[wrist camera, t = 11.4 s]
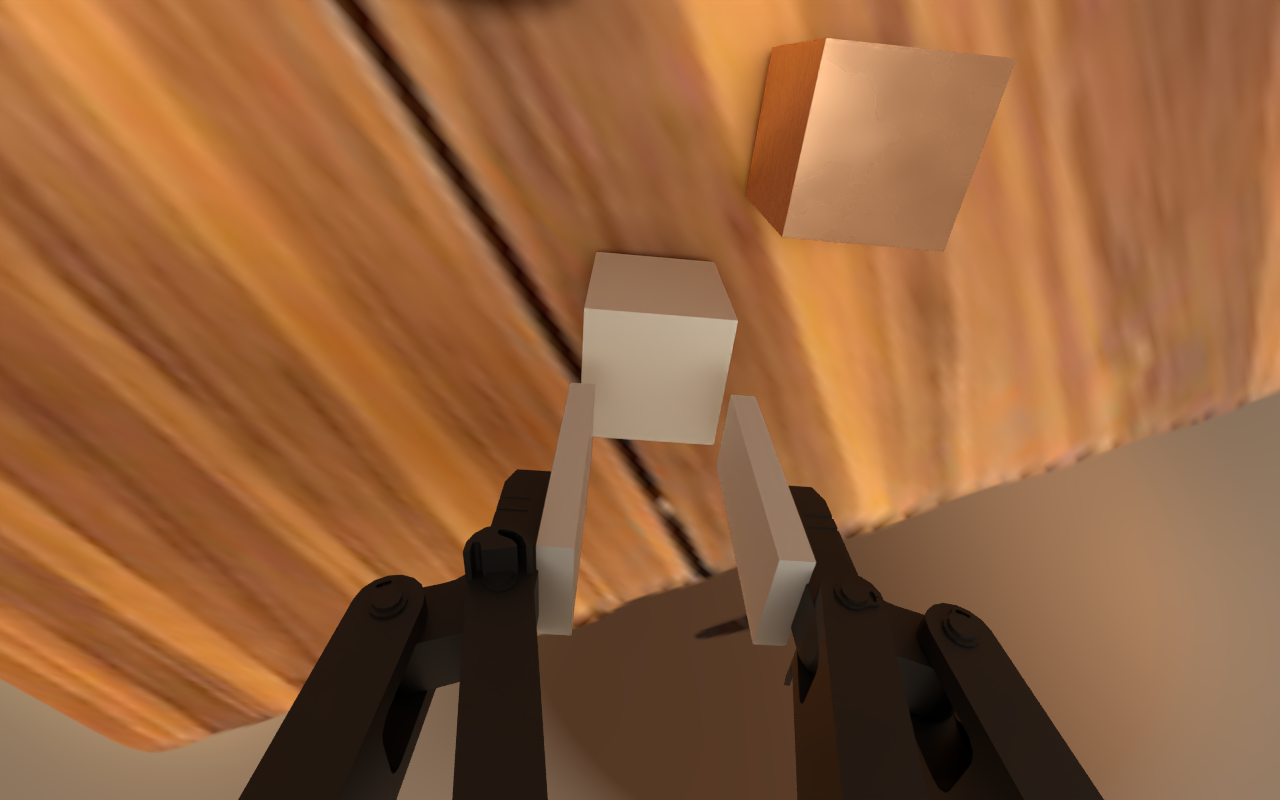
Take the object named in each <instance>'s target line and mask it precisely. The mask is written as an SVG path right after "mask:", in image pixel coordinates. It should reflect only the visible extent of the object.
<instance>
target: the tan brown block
mask: <svg viewBox="0 0 1280 800" xmlns="http://www.w3.org/2000/svg"><path fill="white" fill-rule="evenodd" d="M1015 61H1016V59H1015V58H1006V57H997V56H987V55H978V54H969V53H960V52H951V51H941V50H932V49H923V48H914V47H905V46H895V45H886V44H877V43H868V42H859V41H849V40H840V39H831V38H823V39H817V40H811V41H806V42H800V43H794V44H788V45H782V46H776V47H772V52H771V57H770V63H769V69H768V74H767V80H766V85H765V91H764V96H763V102H762V107H761V113H760V119H759V124H758V130H757V135H756V141H755V146H754V152H753V157H752V163H751V169H750V174H749V180H748V185H747V191H746V197H747V198H748V199H749V200H750V201H751V202H752V203H753V205H754V206H755V207H756V208H757V209H758V210H759V211H760V213H761V214H762V215H763V216H764V217H765V218H766V219H767V221H768V222H769V223H770V224H771V225H772V226H773V227H774V229H775V230H776V231H777V232H778V233H779V234H780V235H781V237H785V238H796V239H808V240H819V241H830V242H841V243H852V244H864V245H875V246H886V247H897V248H908V249H920V250H931V251H942V252H943V251H944V249H945V246H946V244H947V241H948V238H949V236H950V233H951V230H952V228H953V225H954V222H955V220H956V217H957V214H958V212H959V209H960V207H961V204H962V201H963V199H964V196H965V193H966V191H967V188H968V185H969V183H970V180H971V177H972V175H973V172H974V170H975V167H976V164H977V162H978V159H979V156H980V154H981V151H982V148H983V146H984V143H985V140H986V138H987V135H988V132H989V130H990V127H991V125H992V122H993V119H994V117H995V114H996V111H997V109H998V106H999V103H1000V101H1001V98H1002V95H1003V93H1004V90H1005V88H1006V85H1007V82H1008V80H1009V77H1010V74H1011V72H1012V69H1013V66H1014V64H1015Z"/></svg>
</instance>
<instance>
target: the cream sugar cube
mask: <svg viewBox="0 0 1280 800" xmlns="http://www.w3.org/2000/svg"><path fill="white" fill-rule="evenodd" d="M737 324H738V319H737V317H736V314H735V312H734V309H733V307H732V305H731V302H730V300H729V297H728V295H727V292H726V290H725V287H724V285H723V283H722V280H721V278H720V275H719V273H718V270H717V268H716V265H715V263H714V262H709V261H697V260H686V259H674V258H663V257H651V256H639V255H628V254H616V253H605V252H596V256H595V261H594V265H593V270H592V274H591V279H590V284H589V288H588V293H587V297H586V302H585V307H584V325H583V352H582V378H581V383H583V384H595V403H594V421H593V437H603V438H618V439H632V440H647V441H661V442H676V443H690V444H705V445H714V441H715V436H716V431H717V426H718V421H719V416H720V411H721V405H722V400H723V395H724V390H725V385H726V380H727V375H728V370H729V365H730V359H731V354H732V349H733V344H734V339H735V334H736V329H737Z"/></svg>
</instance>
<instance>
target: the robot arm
mask: <svg viewBox="0 0 1280 800" xmlns="http://www.w3.org/2000/svg"><path fill="white" fill-rule="evenodd" d="M594 403H595V384H583V383H570V386H569V391H568V396H567V400H566V405H565V410H564V415H563V419H562V424H561V429H560V434H559V438H558V443H557V448H556V453H555V457H554V462H553V467H552V472H550V471H535V470H519V469H517V470H516V471H515V472H514V473H513V474H512V475H511V476H510V477H509V478H508V479H507V480H506V481H505V484H504V487H503V490H502V493H501V496H500V499H499V502H498V506H497V510H496V512H495V515H494V518H493V521H492V524H491V526H490V527H485V528H484V529H482V530H480V531H478V532H476V533H474V534H473V535H472V537H471V538H470V539H469V540H468V541H467V542H466V544H465V547H464V550H463V557H464V566H465V575H464V576H462V577H460V578H458V579H456V580H453V581H450V582H446V583H442V584H438V585H433V586H428V587H422V584H421V583H419V582H418V581H417V580H416V579H414V578H412V577H408V576H405V575H392V576H386V577H383V578H380V579H377V580H375V581H373V582H371V583H370V584H368V585H367V586H365V587H364V588H362V589H361V591H360V592H359V593H358V594H357V595H356V597H355V598H354V599H353V601H352V602H351V604H350V606H349V608H348V609H347V611H346V613H345V614H344V616H343V618H342V620H341V621H340V623H339V625H338V627H337V628H336V630H335V632H334V634H333V635H332V637H331V639H330V641H329V642H328V644H327V646H326V648H325V649H324V651H323V653H322V655H321V656H320V658H319V660H318V662H317V663H316V665H315V667H314V669H313V670H312V672H311V674H310V676H309V677H308V679H307V681H306V683H305V684H304V686H303V688H302V690H301V691H300V693H299V695H298V696H297V698H296V700H295V702H294V703H293V705H292V707H291V709H290V710H289V712H288V714H287V716H286V718H285V719H284V721H283V723H282V724H281V726H280V728H279V730H278V732H277V733H276V735H275V737H274V739H273V740H272V742H271V744H270V745H269V747H268V749H267V751H266V752H265V754H264V756H263V758H262V759H261V761H260V763H259V765H258V766H257V768H256V770H255V772H254V773H253V775H252V777H251V778H250V780H249V782H248V784H247V786H246V787H245V789H244V791H243V792H242V794H241V796H240V798H239V800H396V799H397V796H398V793H399V790H400V788H401V785H402V782H403V779H404V777H405V774H406V771H407V768H408V766H409V763H410V760H411V757H412V754H413V751H414V748H415V746H416V743H417V740H418V737H419V735H420V732H421V729H422V726H423V723H424V720H425V717H426V715H427V712H428V709H429V707H430V704H431V701H432V698H433V695H434V692H435V690H436V688H438V687H441V686H446V685H449V684H453V683H457V682H460V688H459V703H458V719H457V736H456V751H455V767H454V783H453V798H452V800H548V797H547V782H546V767H545V752H544V736H543V721H542V705H541V690H540V675H539V659H538V644H537V633H539V634H559V635H560V634H561V635H571V632H572V624H573V615H574V606H575V598H576V589H577V580H578V571H579V563H580V554H581V545H582V536H583V528H584V519H585V510H586V501H587V493H588V484H589V475H590V467H591V458H592V440H593V421H594ZM717 470H718V475H719V480H720V485H721V490H722V495H723V500H724V505H725V509H726V514H727V519H728V524H729V529H730V534H731V539H732V544H733V549H734V554H735V558H736V563H737V568H738V573H739V577H740V583H741V588H742V593H743V598H744V602H745V607H746V612H747V617H748V622H749V627H750V632H751V637H752V641H753V644H759V645H779V646H780V645H781V646H786V644H787V641H788V638H789V636H790V633H791V630H792V633H793V637H794V640H795V644H796V647H797V648H796V651H795V653H794V656H793V659H792V661H791V664H790V666H789V669H788V672H787V675H786V678H785V683H784V685H788V686H789V685H790V682H791V680H792V677H793V702H794V725H795V726H794V727H795V750H796V751H795V752H796V777H797V800H1104V799H1103V798H1102V796H1101V795H1100V793H1099V792H1098V790H1097V789H1096V787H1095V786H1094V784H1093V783H1092V781H1091V780H1090V778H1089V777H1088V775H1087V774H1086V772H1085V771H1084V769H1083V768H1082V766H1081V765H1080V764H1079V762H1078V760H1077V759H1076V757H1075V756H1074V754H1073V753H1072V751H1071V750H1070V748H1069V747H1068V745H1067V744H1066V742H1065V741H1064V739H1063V738H1062V736H1061V735H1060V733H1059V732H1058V730H1057V729H1056V727H1055V726H1054V724H1053V723H1052V721H1051V720H1050V718H1049V717H1048V715H1047V714H1046V712H1045V711H1044V709H1043V708H1042V706H1041V705H1040V703H1039V702H1038V700H1037V699H1036V697H1035V696H1034V694H1033V693H1032V691H1031V690H1030V688H1029V687H1028V685H1027V684H1026V682H1025V681H1024V679H1023V678H1022V676H1021V675H1020V673H1019V672H1018V670H1017V669H1016V667H1015V666H1014V664H1013V663H1012V661H1011V660H1010V658H1009V657H1008V655H1007V654H1006V652H1005V651H1004V649H1003V648H1002V646H1001V645H1000V643H999V642H998V640H997V639H996V637H995V636H994V634H993V633H992V631H991V630H990V629H989V628H988V627H987V626H986V624H985V623H984V622H983V621H982V620H981V619H979V618H978V617H977V616H975V615H974V614H973V613H971V612H970V611H968V610H966V609H963V608H961V607H959V606H957V605H952V604H946V603H941V604H936V605H933V606H932V607H930V608H929V609H928V610H927V612H926V613H925V615H923V614H920V613H917V612H913V611H910V610H907V609H904V608H901V607H898V606H895V605H893V604H890V603H888V602H886V601H884V600H883V598H882V596H881V593H880V592H879V591H878V590H877V589H876V588H875V587H874V586H873V585H872V584H871V583H870V582H868V581H866V580H865V579H863V578H862V577H860V576H858V574H857V572H856V569H855V567H854V565H853V563H852V560H851V558H850V556H849V553H848V551H847V549H846V547H845V544H844V543H843V540H842V538H841V535H840V533H839V531H837V526H836V524H835V522H834V519H832V515H831V513H830V510H829V508H828V506H827V504H826V501H825V500H824V499H823V498H822V497H821V496H820V495H819V494H818V493H817V492H816V491H815V490H814V489H813V488H812V487H799V486H788V484H787V481H786V478H785V476H784V473H783V470H782V468H781V465H780V462H779V459H778V457H777V454H776V451H775V449H774V446H773V443H772V440H771V438H770V435H769V432H768V429H767V427H766V424H765V421H764V419H763V416H762V413H761V410H760V408H759V405H758V402H757V399H756V397H755V396H745V395H732V394H731V396H730V401H729V406H728V411H727V416H726V421H725V426H724V431H723V435H722V440H721V445H720V450H719V455H718V460H717Z"/></svg>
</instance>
